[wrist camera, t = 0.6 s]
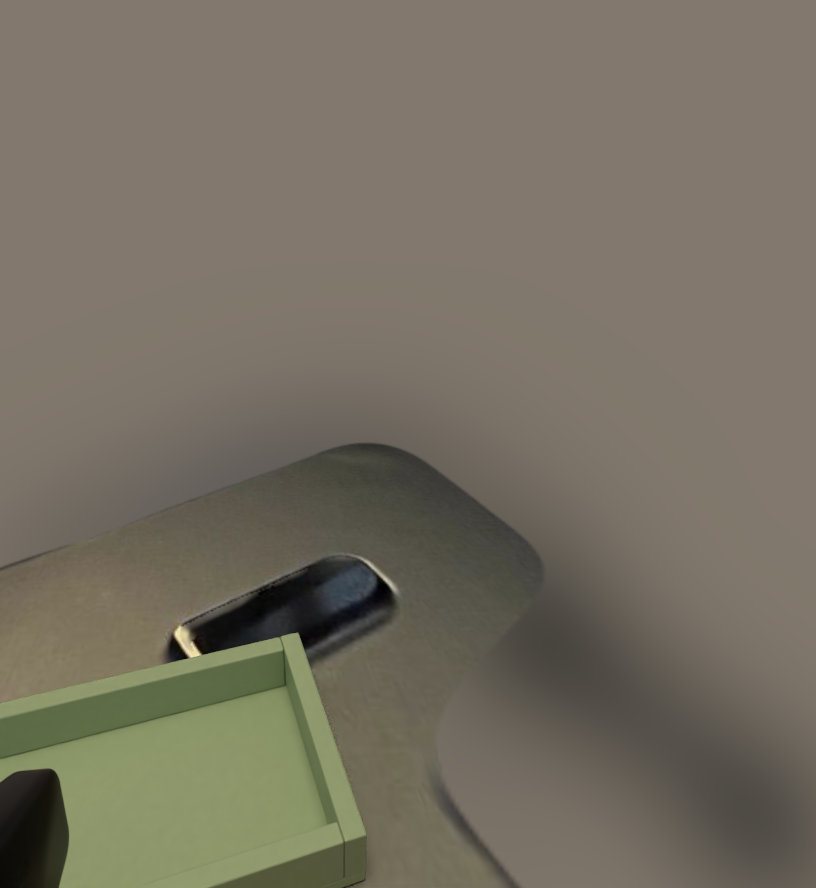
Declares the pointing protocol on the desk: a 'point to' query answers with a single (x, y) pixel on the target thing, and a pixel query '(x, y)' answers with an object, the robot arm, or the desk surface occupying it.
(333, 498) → the desk surface
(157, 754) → the shallow rectangular tray
